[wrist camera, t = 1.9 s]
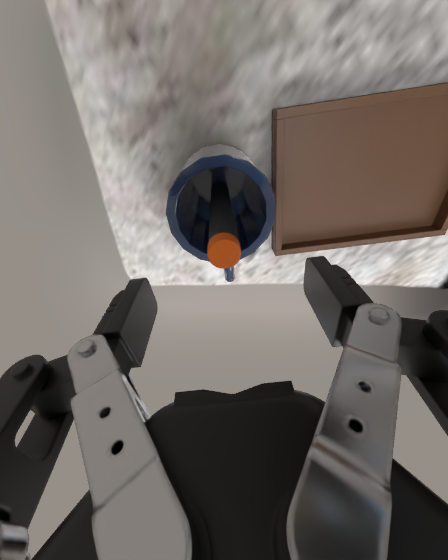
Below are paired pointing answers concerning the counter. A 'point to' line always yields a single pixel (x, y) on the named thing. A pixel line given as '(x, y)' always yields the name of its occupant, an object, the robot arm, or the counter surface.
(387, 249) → the counter surface
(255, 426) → the robot arm
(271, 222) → the mug
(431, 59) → the counter surface
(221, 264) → the marker
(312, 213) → the tray
